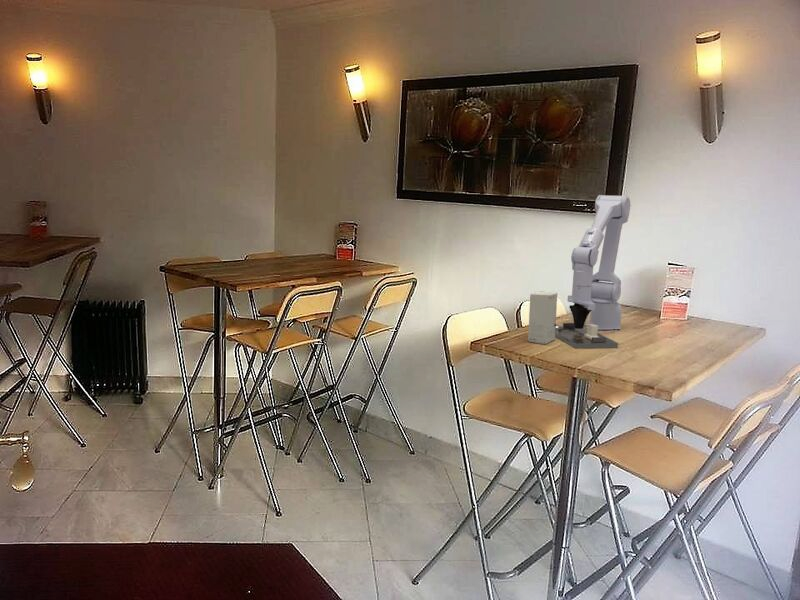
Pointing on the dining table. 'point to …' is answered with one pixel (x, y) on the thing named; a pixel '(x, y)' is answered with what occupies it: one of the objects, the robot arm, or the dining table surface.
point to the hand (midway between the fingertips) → (578, 328)
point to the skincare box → (542, 317)
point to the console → (582, 337)
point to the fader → (591, 331)
